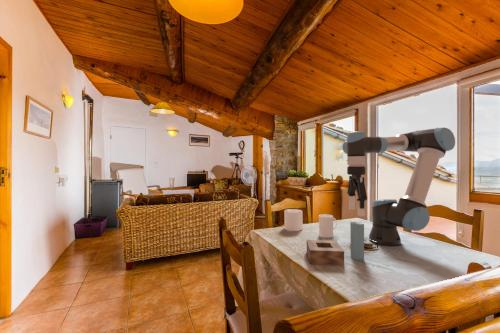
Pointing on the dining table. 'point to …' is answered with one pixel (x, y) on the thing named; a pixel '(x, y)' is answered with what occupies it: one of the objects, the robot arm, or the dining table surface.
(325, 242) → the socket
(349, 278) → the dining table surface
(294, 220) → the cup
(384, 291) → the dining table surface
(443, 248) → the dining table surface
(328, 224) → the mug
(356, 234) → the peg
